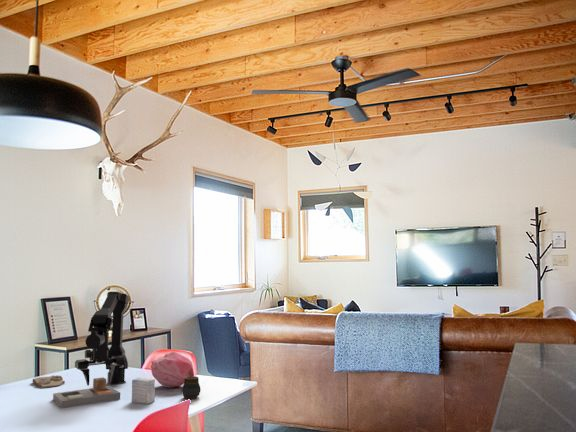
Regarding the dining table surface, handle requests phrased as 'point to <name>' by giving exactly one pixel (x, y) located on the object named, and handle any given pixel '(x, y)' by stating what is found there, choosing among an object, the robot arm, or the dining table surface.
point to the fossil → (48, 381)
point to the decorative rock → (171, 369)
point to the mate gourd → (191, 387)
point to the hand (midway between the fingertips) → (99, 383)
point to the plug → (99, 385)
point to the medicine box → (143, 390)
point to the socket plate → (85, 397)
